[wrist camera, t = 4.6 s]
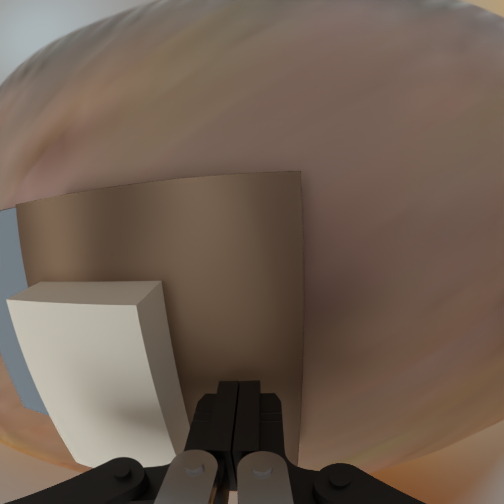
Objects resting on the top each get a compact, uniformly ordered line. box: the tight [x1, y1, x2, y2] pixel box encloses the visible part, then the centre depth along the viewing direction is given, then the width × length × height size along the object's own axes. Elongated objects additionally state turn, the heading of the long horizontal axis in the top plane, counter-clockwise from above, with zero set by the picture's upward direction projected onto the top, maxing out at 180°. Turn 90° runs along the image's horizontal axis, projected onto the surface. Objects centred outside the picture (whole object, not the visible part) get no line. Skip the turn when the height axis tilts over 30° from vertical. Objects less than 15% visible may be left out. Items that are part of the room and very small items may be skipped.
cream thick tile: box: [6, 281, 190, 468], centre depth 10 cm, size 6×9×2 cm, turn 3°
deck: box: [16, 171, 304, 466], centre depth 13 cm, size 12×16×4 cm
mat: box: [0, 208, 50, 416], centre depth 16 cm, size 10×16×1 cm, turn 3°
